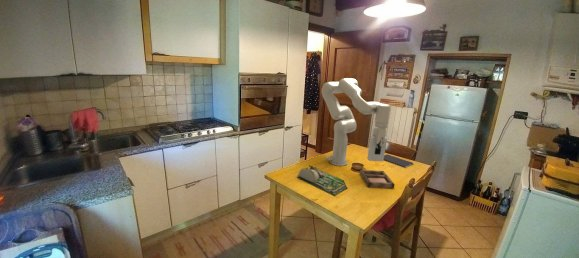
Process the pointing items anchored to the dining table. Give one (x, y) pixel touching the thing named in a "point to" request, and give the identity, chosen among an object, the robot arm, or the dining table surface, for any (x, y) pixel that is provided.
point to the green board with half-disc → (322, 180)
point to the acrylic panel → (371, 152)
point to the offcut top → (377, 180)
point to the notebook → (397, 161)
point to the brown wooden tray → (376, 174)
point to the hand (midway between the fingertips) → (376, 152)
